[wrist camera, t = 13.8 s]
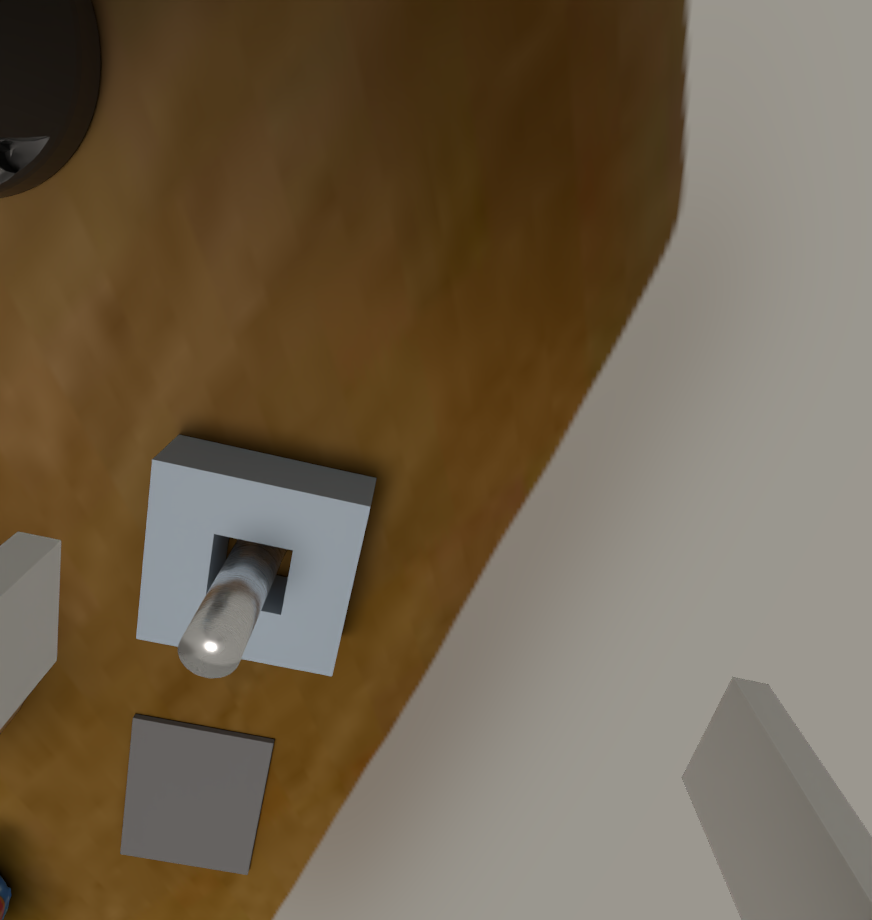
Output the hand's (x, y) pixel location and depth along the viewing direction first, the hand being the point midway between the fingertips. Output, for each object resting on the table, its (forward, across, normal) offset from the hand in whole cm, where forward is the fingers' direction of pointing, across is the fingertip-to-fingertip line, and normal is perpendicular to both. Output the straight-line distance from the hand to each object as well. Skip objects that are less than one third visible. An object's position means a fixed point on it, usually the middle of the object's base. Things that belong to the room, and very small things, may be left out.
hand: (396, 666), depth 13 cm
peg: (+27, -7, -14) cm, 31 cm away
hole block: (+27, -7, -14) cm, 31 cm away
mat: (+27, -9, -37) cm, 47 cm away
